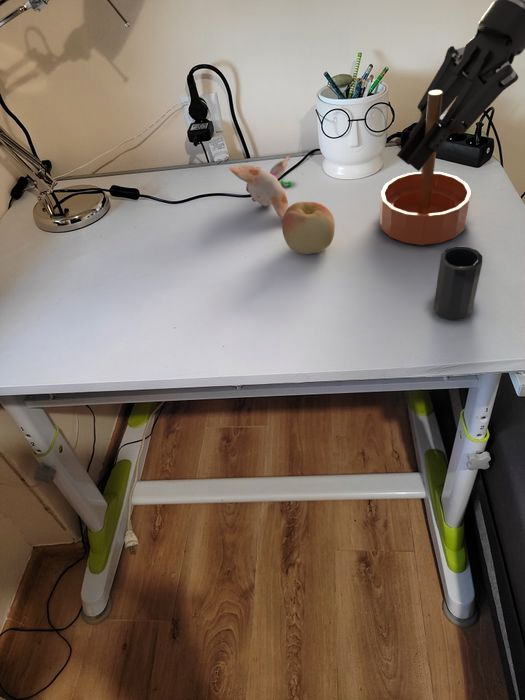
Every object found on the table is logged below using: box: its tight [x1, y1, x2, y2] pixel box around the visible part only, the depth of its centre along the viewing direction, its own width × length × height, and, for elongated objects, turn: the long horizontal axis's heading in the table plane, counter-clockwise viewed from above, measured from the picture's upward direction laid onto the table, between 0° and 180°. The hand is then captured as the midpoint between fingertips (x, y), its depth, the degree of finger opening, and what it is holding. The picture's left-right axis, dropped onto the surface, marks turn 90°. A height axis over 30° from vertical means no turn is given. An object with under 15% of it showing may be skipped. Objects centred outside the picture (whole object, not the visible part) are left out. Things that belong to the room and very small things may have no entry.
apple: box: [281, 201, 336, 255], centre depth 86 cm, size 9×9×8 cm
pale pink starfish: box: [228, 155, 293, 221], centre depth 99 cm, size 15×8×15 cm
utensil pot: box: [433, 245, 483, 322], centre depth 70 cm, size 5×5×9 cm
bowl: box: [379, 171, 473, 246], centre depth 87 cm, size 14×14×6 cm
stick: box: [417, 90, 443, 214], centre depth 81 cm, size 2×2×20 cm
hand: (408, 163), depth 80 cm, fingers closed on stick, 2 cm apart
